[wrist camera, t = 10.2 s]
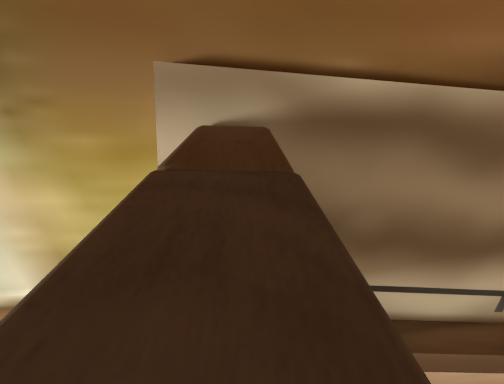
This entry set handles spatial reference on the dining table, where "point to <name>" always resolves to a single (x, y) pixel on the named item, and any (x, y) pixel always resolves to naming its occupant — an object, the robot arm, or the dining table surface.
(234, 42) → the dining table surface
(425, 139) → the marking board
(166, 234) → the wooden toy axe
